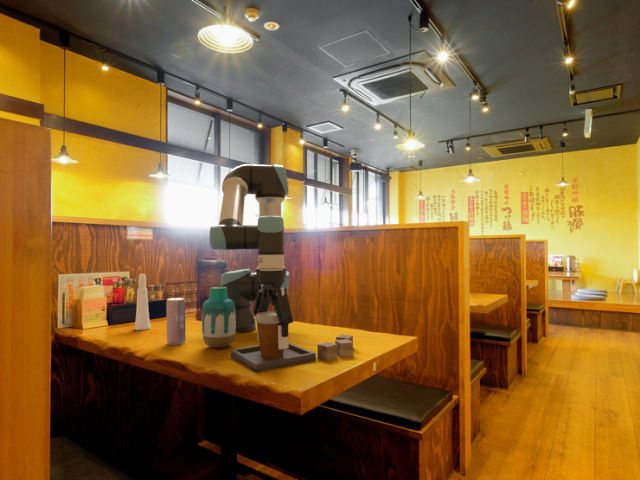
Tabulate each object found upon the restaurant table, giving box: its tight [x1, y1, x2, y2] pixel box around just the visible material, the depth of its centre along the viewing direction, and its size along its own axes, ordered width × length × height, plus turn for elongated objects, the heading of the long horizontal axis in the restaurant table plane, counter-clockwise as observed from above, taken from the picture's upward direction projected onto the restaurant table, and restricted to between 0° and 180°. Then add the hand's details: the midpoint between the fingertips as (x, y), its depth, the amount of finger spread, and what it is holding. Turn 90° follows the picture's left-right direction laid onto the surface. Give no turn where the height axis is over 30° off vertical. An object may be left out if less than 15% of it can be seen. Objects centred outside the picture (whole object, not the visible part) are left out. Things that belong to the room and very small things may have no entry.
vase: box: [201, 286, 236, 349], centre depth 126 cm, size 11×11×19 cm
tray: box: [230, 341, 317, 373], centre depth 112 cm, size 18×18×2 cm
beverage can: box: [166, 297, 187, 346], centre depth 132 cm, size 6×6×15 cm
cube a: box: [316, 341, 338, 362], centre depth 111 cm, size 4×4×4 cm
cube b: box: [334, 339, 354, 358], centre depth 115 cm, size 4×4×4 cm
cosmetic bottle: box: [134, 273, 152, 331], centre depth 157 cm, size 6×6×22 cm
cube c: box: [335, 334, 354, 343], centre depth 121 cm, size 4×4×4 cm
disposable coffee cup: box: [254, 310, 284, 358], centre depth 112 cm, size 10×10×12 cm
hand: (272, 343), depth 112 cm, fingers open, 13 cm apart
